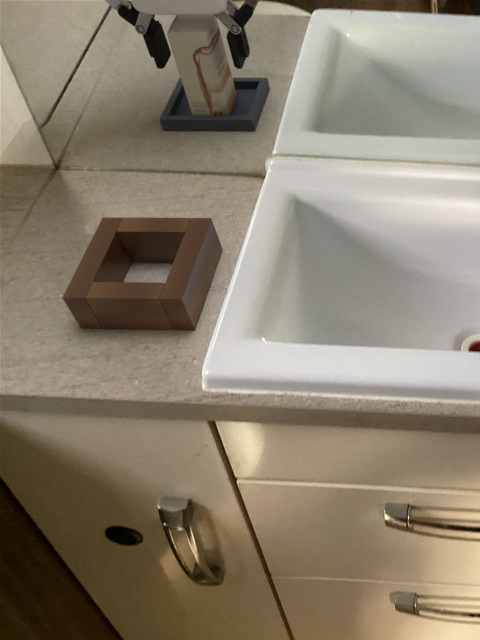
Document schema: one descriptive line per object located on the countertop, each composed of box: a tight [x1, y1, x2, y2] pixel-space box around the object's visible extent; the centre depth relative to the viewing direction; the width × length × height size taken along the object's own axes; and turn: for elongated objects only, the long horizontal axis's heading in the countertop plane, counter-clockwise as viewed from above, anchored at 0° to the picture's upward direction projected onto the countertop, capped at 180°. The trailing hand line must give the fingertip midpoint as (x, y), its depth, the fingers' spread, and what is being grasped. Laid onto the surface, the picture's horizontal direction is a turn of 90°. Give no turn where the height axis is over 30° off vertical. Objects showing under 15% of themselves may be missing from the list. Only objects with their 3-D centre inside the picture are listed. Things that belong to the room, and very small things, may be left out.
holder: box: [62, 216, 223, 331], centre depth 73 cm, size 10×10×4 cm
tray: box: [159, 77, 271, 132], centre depth 92 cm, size 11×9×2 cm
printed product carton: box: [166, 14, 237, 116], centre depth 88 cm, size 5×4×10 cm
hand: (202, 61), depth 88 cm, fingers open, 8 cm apart
